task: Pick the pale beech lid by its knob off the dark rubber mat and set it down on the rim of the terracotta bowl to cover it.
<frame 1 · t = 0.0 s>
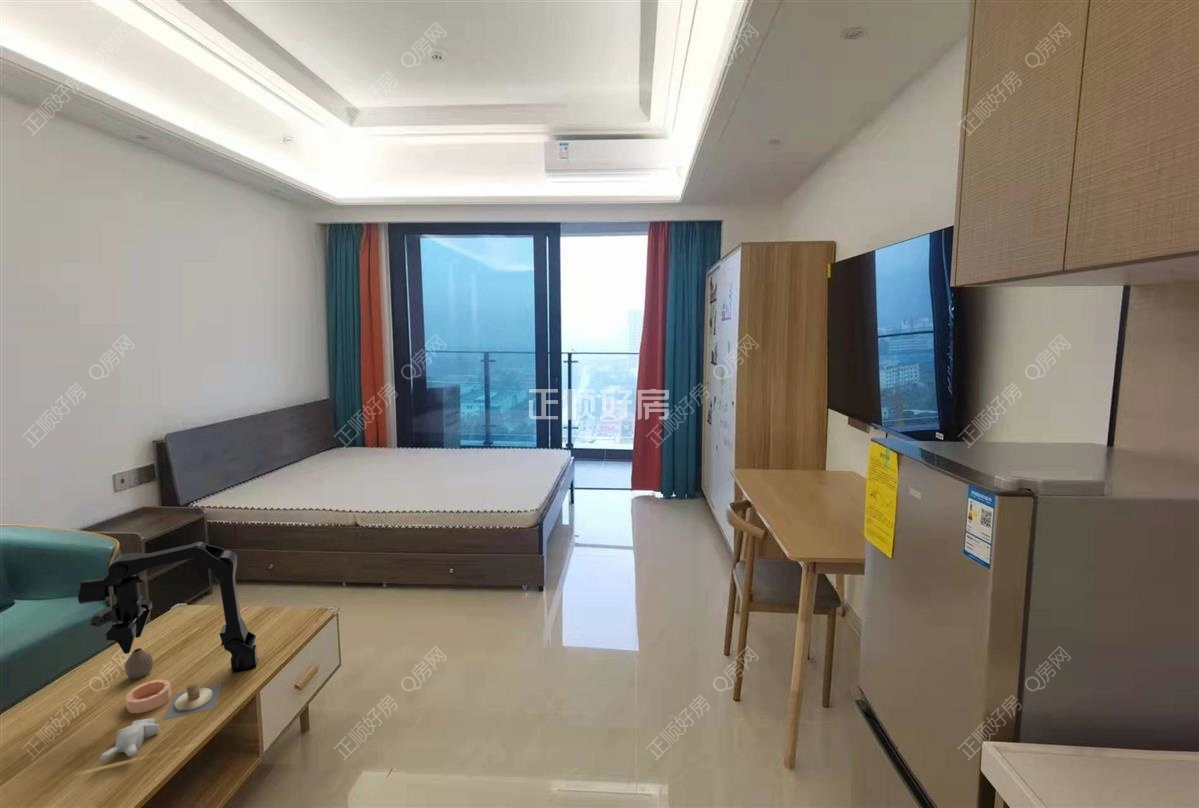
hand: (132, 645, 167), 15 cm above the table, fingers open, 9 cm apart
mat: (194, 702, 163), on the table
lid: (194, 700, 163), point 1 cm above the table, touching mat
bowl: (149, 702, 163), on the table
vase: (140, 676, 176), on the table
grey toy figurine: (133, 747, 146), on the table
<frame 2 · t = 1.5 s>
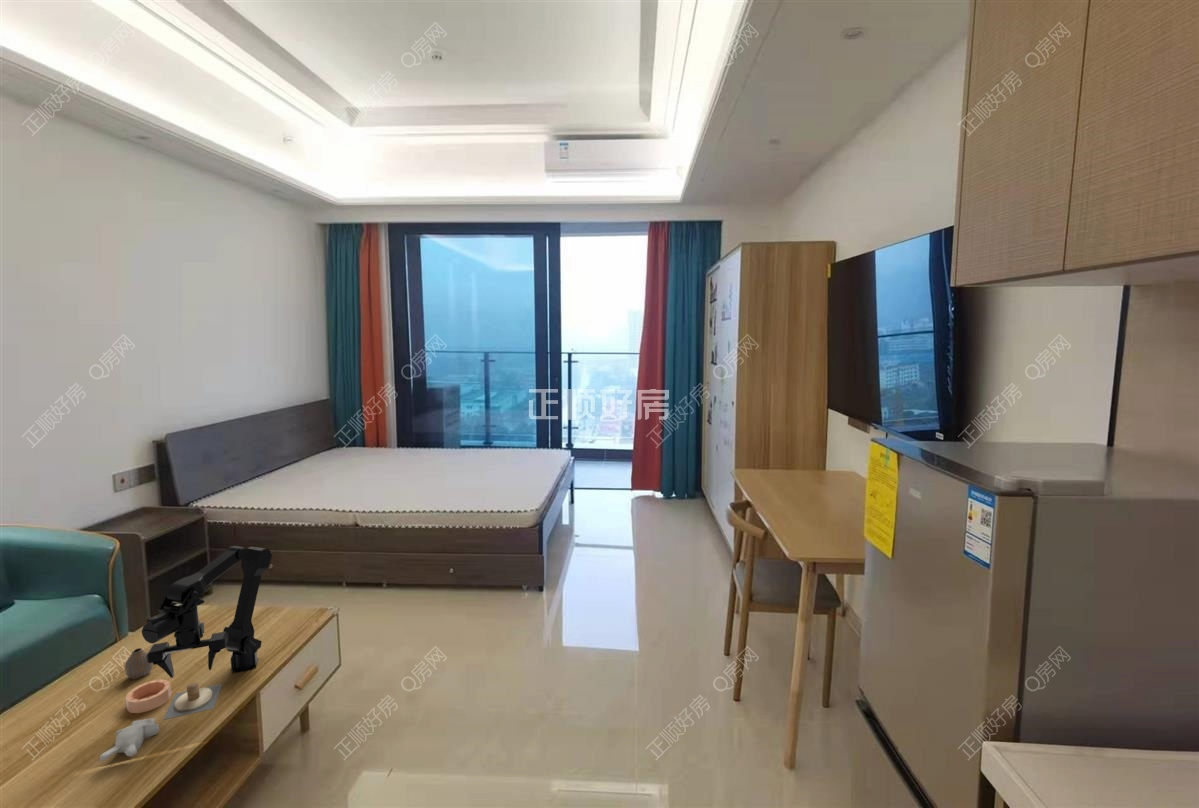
hand: (191, 673, 162), 9 cm above the table, fingers open, 9 cm apart
nothing on the table moved.
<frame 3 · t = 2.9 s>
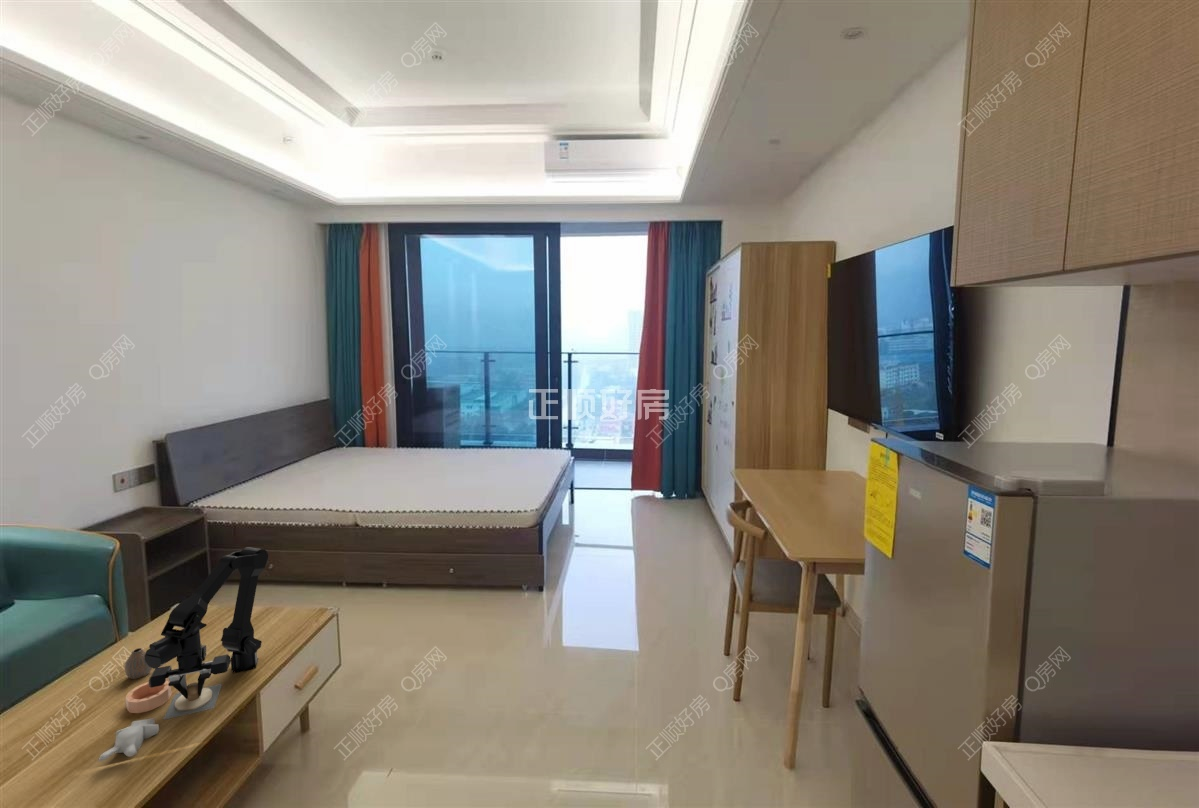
hand: (193, 696, 163), 2 cm above the table, fingers closed on lid, 3 cm apart
lid: (194, 700, 163), point 1 cm above the table, touching gripper, mat
everything else where it was.
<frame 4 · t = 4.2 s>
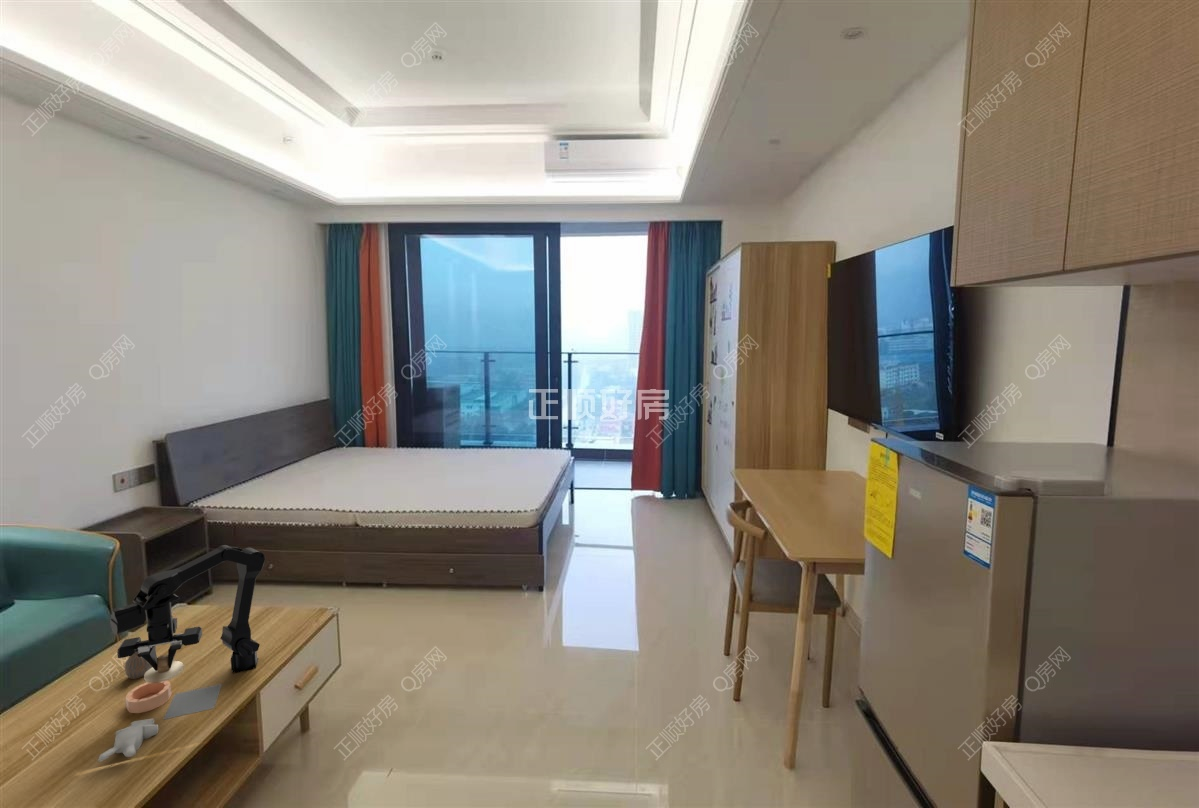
hand: (163, 668, 161), 11 cm above the table, fingers closed on lid, 3 cm apart
lid: (164, 673, 161), point 10 cm above the table, touching gripper
everything else where it was.
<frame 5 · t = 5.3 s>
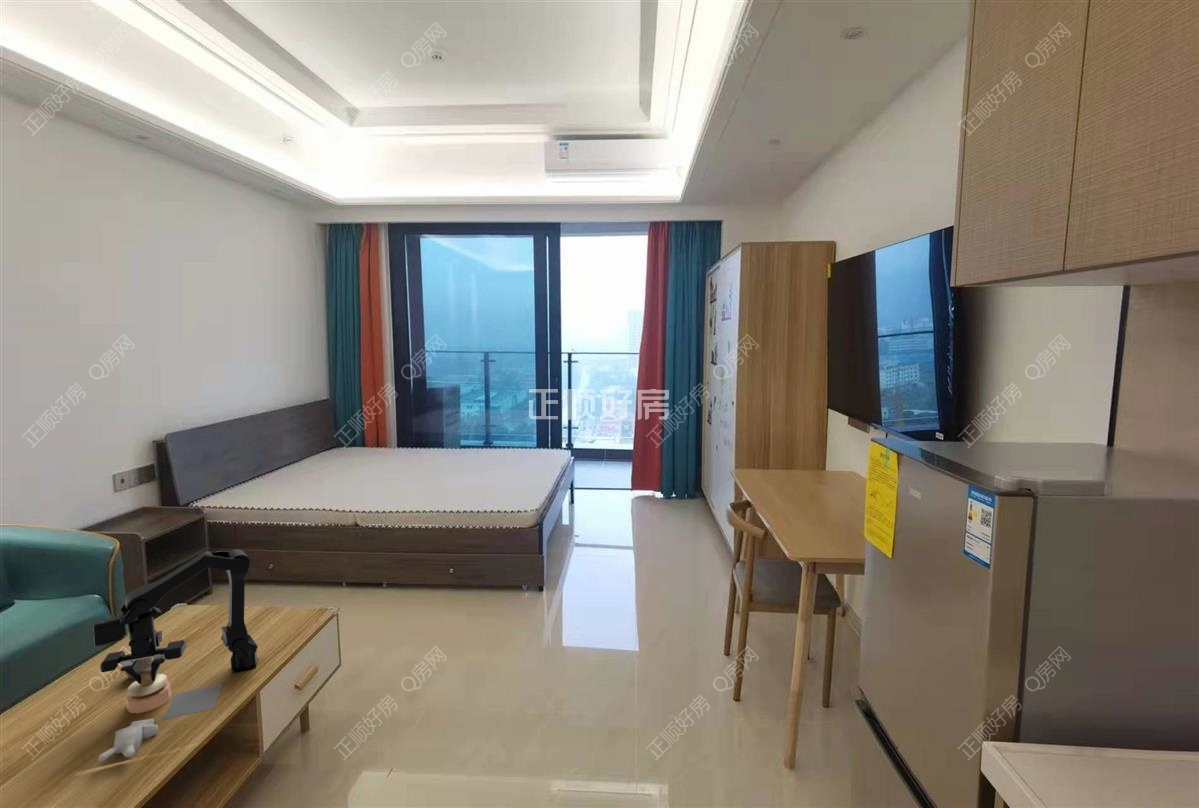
hand: (147, 682, 162), 7 cm above the table, fingers closed on lid, 3 cm apart
lid: (148, 686, 162), point 5 cm above the table, touching gripper
everything else where it was.
when the fingers open (7 cm above the table, at t = 5.9 s): lid drops 1 cm, resting on bowl.
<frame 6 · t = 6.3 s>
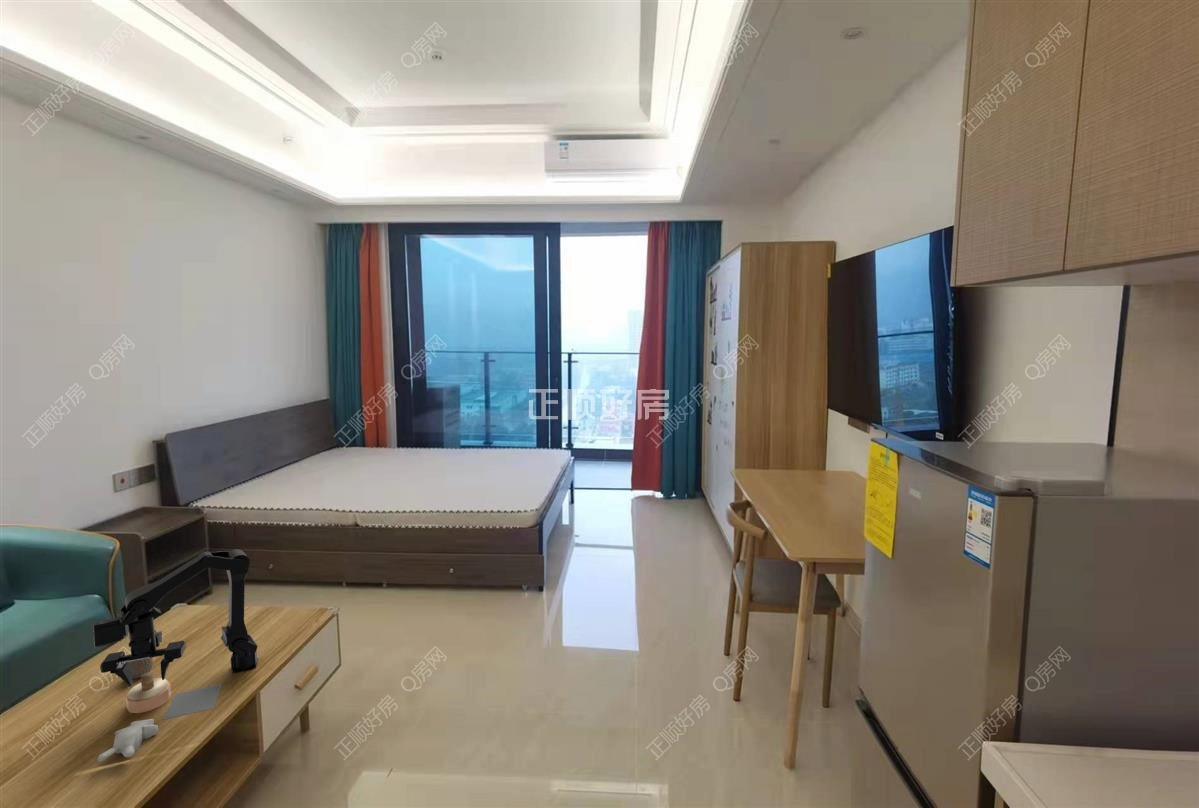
hand: (147, 682, 162), 7 cm above the table, fingers open, 7 cm apart
lid: (148, 690, 162), point 4 cm above the table, touching bowl
everything else where it was.
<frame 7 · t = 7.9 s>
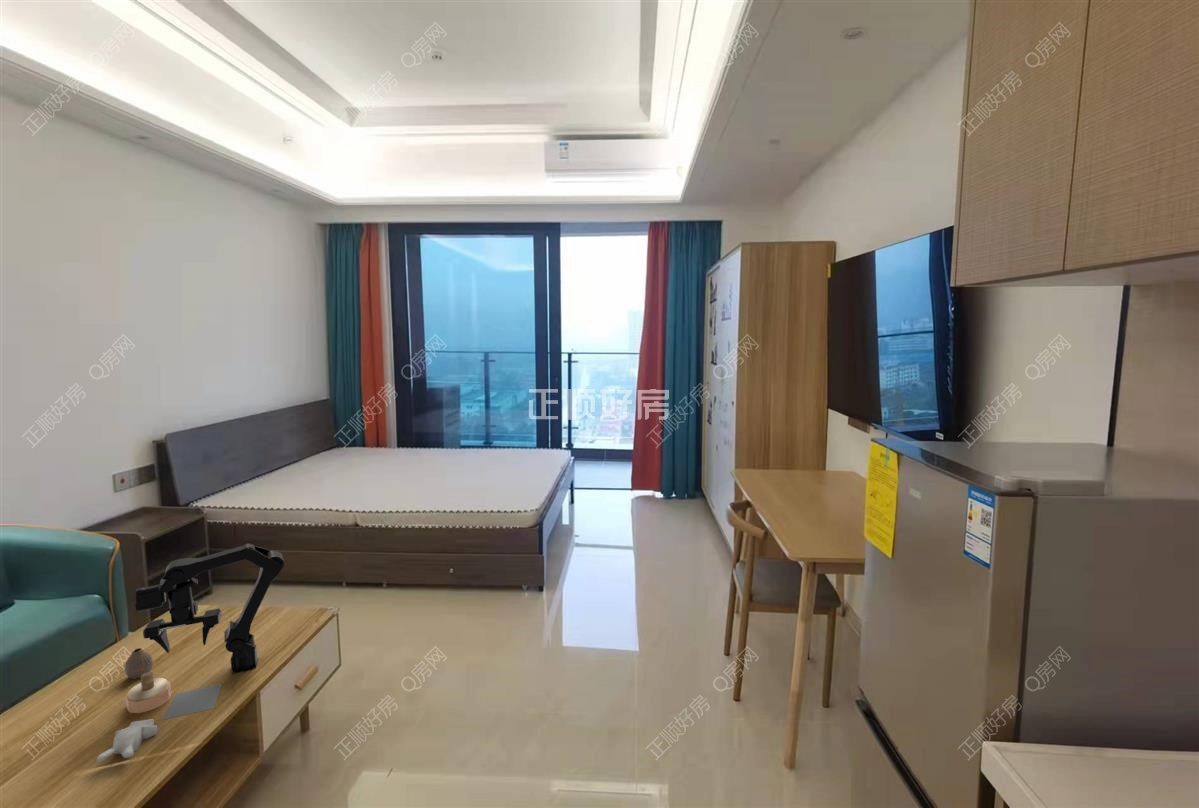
hand: (187, 648, 171), 12 cm above the table, fingers open, 9 cm apart
nothing on the table moved.
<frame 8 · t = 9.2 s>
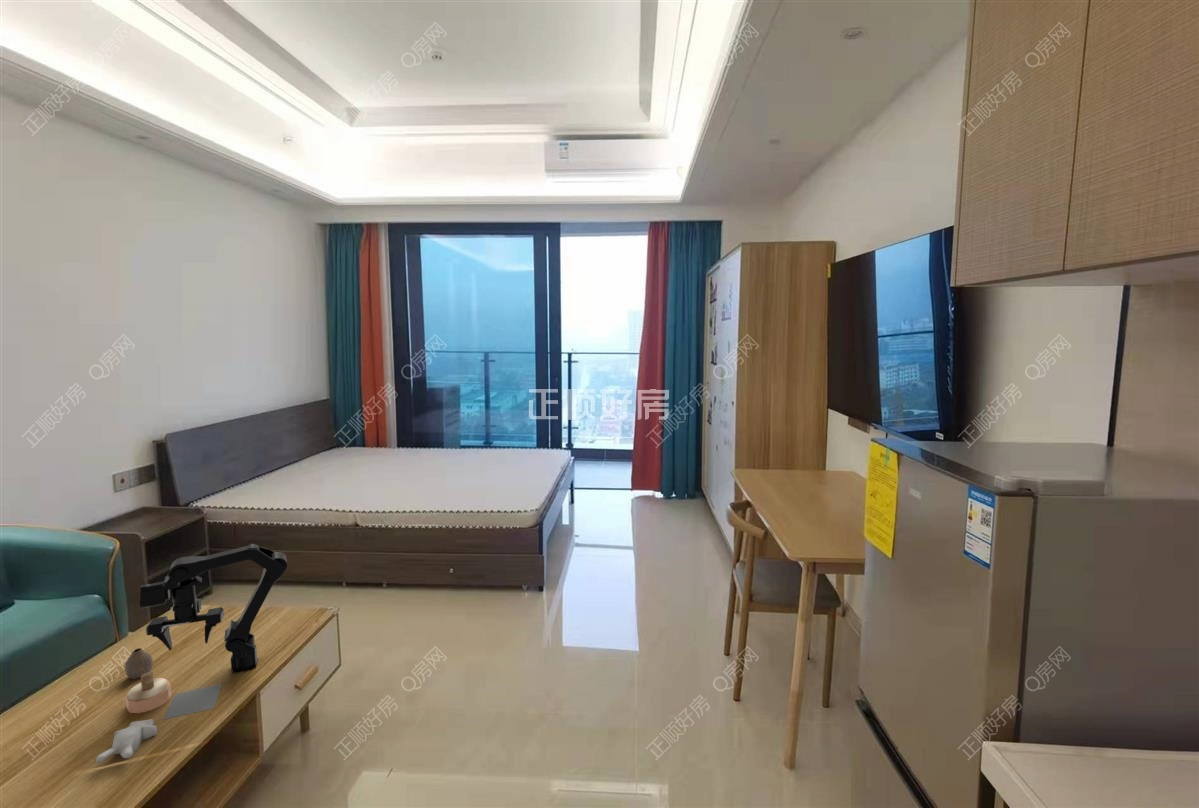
hand: (189, 646, 171), 12 cm above the table, fingers open, 9 cm apart
nothing on the table moved.
at the end: lid 0.1 cm from the bowl (horizontally); lid 0.1 cm off-centre on the bowl, point 4.0 cm above the bowl's base; lid tilted 0° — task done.
